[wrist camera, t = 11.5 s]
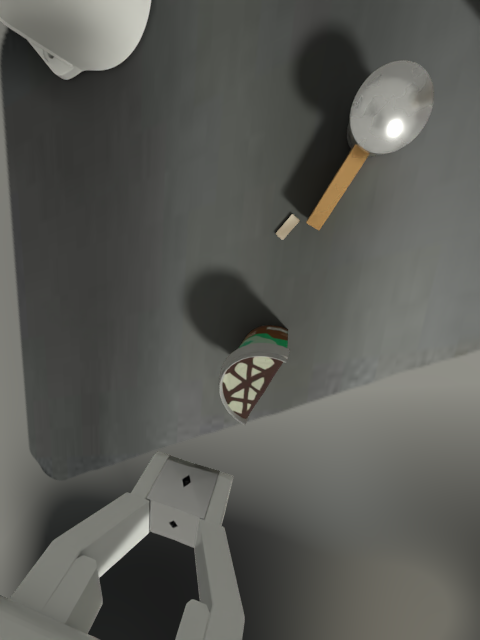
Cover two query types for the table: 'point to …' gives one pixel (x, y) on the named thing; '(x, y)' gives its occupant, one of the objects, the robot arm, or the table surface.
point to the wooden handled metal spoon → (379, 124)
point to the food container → (252, 369)
